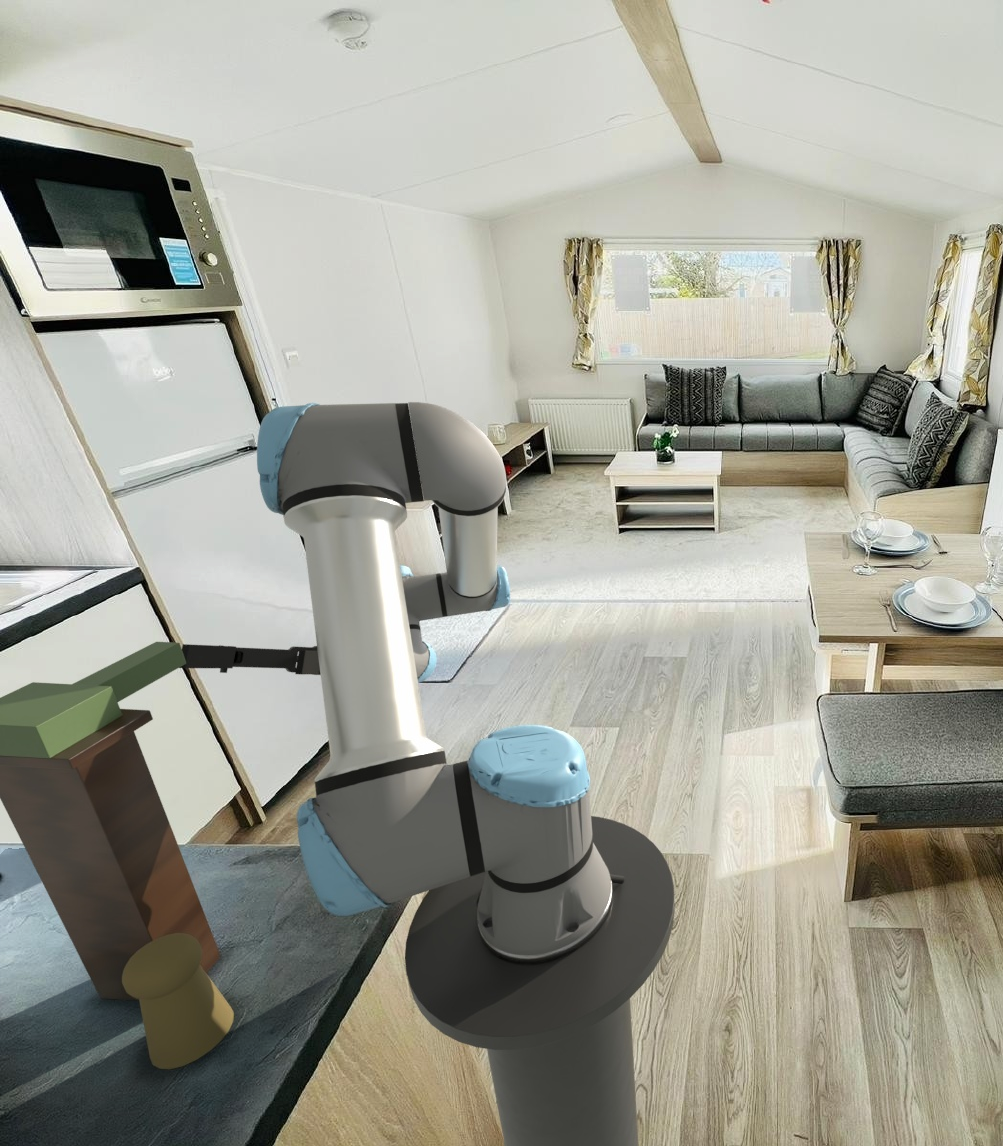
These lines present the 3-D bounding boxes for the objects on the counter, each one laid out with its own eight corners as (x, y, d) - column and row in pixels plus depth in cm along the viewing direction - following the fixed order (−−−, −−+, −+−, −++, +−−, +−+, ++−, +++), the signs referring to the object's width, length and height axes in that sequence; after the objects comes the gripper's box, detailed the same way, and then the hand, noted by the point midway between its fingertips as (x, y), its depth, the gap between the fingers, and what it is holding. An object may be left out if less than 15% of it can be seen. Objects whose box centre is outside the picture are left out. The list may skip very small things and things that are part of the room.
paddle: (209, 664, 65) (200, 638, 64) (49, 758, 51) (35, 726, 50) (141, 661, 65) (131, 634, 64) (-36, 753, 51) (-52, 722, 50)
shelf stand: (238, 948, 68) (150, 709, 57) (180, 1014, 62) (68, 759, 51) (146, 942, 68) (41, 704, 57) (79, 1008, 62) (-55, 752, 51)
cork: (188, 1075, 57) (149, 990, 53) (131, 1061, 58) (89, 976, 54) (250, 1009, 62) (219, 927, 58) (197, 997, 63) (163, 915, 59)
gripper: (281, 631, 95) (141, 621, 74) (447, 640, 94) (354, 631, 73) (273, 682, 94) (128, 686, 73) (441, 691, 93) (344, 698, 72)
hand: (241, 659), depth 73 cm, fingers open, 13 cm apart
